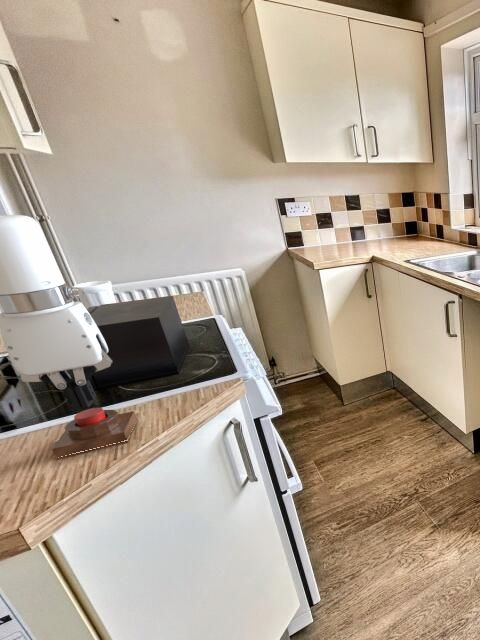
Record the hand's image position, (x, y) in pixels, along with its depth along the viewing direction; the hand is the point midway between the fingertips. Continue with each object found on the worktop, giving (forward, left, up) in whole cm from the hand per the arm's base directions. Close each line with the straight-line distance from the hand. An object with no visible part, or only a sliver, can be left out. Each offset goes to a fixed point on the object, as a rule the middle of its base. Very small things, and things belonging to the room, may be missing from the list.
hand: (85, 404), depth 71 cm
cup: (-14, +72, -7) cm, 74 cm away
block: (0, 0, -7) cm, 7 cm away
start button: (0, 0, -3) cm, 3 cm away
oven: (+1, +34, -7) cm, 35 cm away
